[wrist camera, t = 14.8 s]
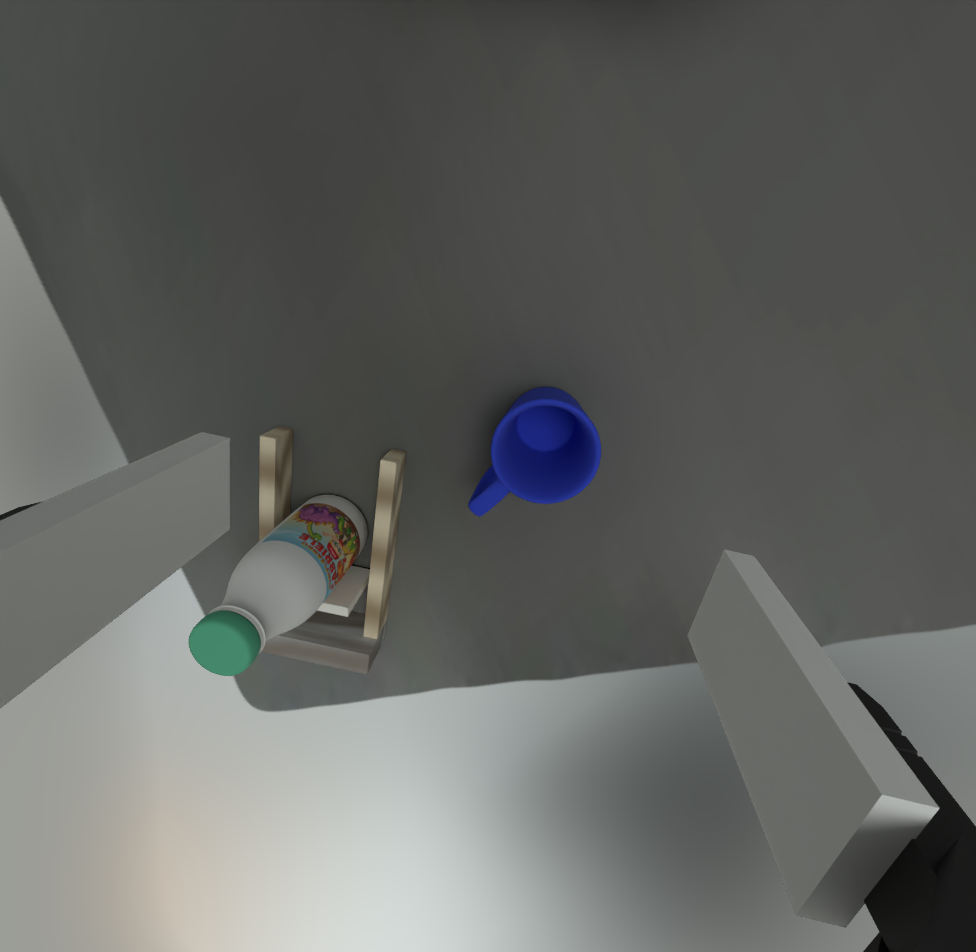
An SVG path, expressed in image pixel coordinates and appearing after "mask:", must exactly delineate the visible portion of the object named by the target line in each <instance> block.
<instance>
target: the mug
mask: <svg viewBox="0 0 976 952" xmlns="http://www.w3.org/2000/svg"><path fill="white" fill-rule="evenodd" d="M600 458H601V444H600V439H599V435H598V432H597V430H596V428H595V426H594V424H593V423H592V421H591V420H590V419H589V417H588V416H587V415H586V413H585V412H584V410H583V409H582V408H581V406H580V405H579V404H578V402H577V401H576V400H575V399H574V398H573V397H572V396H571V395H569V394H568V393H566V392H565V391H563V390H560V389H557V388H553V387H540V388H535V389H532V390H530V391H528V392H526V393H524V394H523V395H522V396H520V397H519V398H518V399H517V400H516V401H515V403H514V404H513V405H512V407H511V408H510V409H509V411H508V412H507V413H506V415H505V416H504V417H503V419H502V420H501V421H500V423H499V424H498V426H497V428H496V430H495V432H494V435H493V438H492V443H491V460H492V464H493V465H492V466H491V467H490V468H489V469H488V470H487V472H486V473H485V474H484V476H483V477H482V479H481V480H480V482H479V484H478V485H477V487H476V489H475V491H474V493H473V495H472V497H471V499H470V501H469V504H468V506H469V508H470V510H471V511H472V512H473V513H474V514H475V515H477V516H482V515H484V514H485V513H486V512H488V511H489V510H490V509H491V508H492V507H494V506H495V505H496V504H497V503H498V502H500V501H501V500H502V499H503V498H504V497H505V496H506V495H507V494H508V493H509V492H510V491H511V492H512V493H513V494H515V495H516V496H518V497H520V498H522V499H524V500H527V501H530V502H534V503H542V504H548V503H557V502H561V501H564V500H567V499H569V498H571V497H573V496H575V495H577V494H578V493H580V492H581V491H582V490H583V489H584V488H585V487H586V486H587V485H588V484H589V483H590V482H591V480H592V479H593V477H594V476H595V474H596V472H597V469H598V466H599V463H600Z"/></svg>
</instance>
